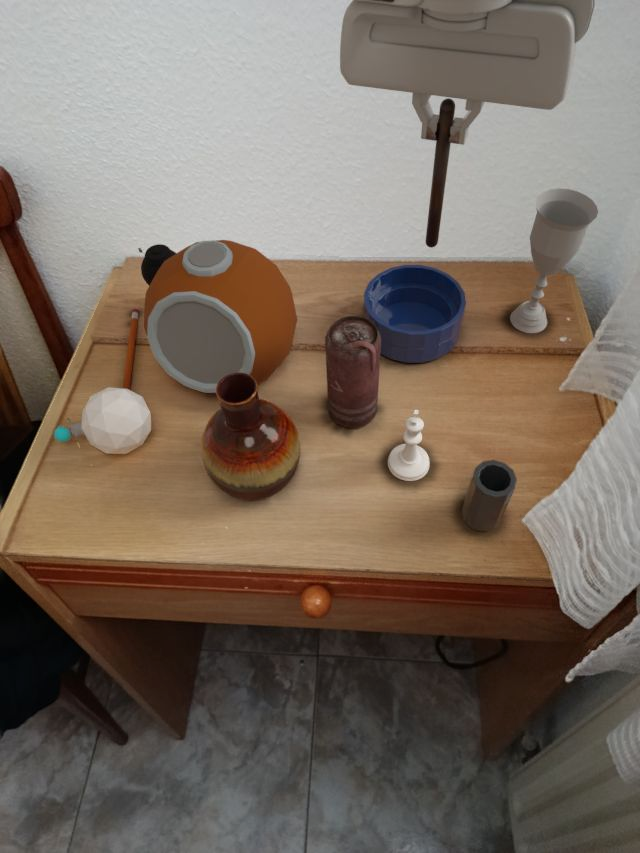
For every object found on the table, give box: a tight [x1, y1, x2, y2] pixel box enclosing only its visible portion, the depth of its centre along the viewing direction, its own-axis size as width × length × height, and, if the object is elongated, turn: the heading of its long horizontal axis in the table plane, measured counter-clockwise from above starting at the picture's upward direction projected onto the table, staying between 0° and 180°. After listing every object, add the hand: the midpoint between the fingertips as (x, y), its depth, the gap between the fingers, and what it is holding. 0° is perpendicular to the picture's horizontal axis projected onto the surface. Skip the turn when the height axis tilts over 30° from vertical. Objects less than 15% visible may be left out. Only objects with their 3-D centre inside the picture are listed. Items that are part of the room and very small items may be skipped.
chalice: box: [509, 187, 599, 334], centre depth 76 cm, size 7×7×18 cm
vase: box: [200, 372, 301, 501], centre depth 65 cm, size 11×11×15 cm
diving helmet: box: [143, 239, 298, 394], centre depth 74 cm, size 19×18×17 cm
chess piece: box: [387, 409, 431, 482], centre depth 66 cm, size 5×5×10 cm
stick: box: [425, 97, 456, 248], centre depth 62 cm, size 1×1×16 cm
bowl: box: [363, 264, 467, 364], centre depth 81 cm, size 13×13×6 cm
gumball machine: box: [138, 243, 177, 287], centre depth 84 cm, size 7×6×10 cm
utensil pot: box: [461, 459, 518, 532], centre depth 63 cm, size 4×4×8 cm
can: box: [324, 315, 381, 429], centre depth 70 cm, size 6×6×14 cm
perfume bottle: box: [53, 386, 152, 455], centre depth 71 cm, size 8×8×12 cm
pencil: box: [122, 308, 140, 390], centre depth 81 cm, size 1×19×1 cm, turn 6°
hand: (443, 139), depth 58 cm, fingers closed on stick, 1 cm apart
